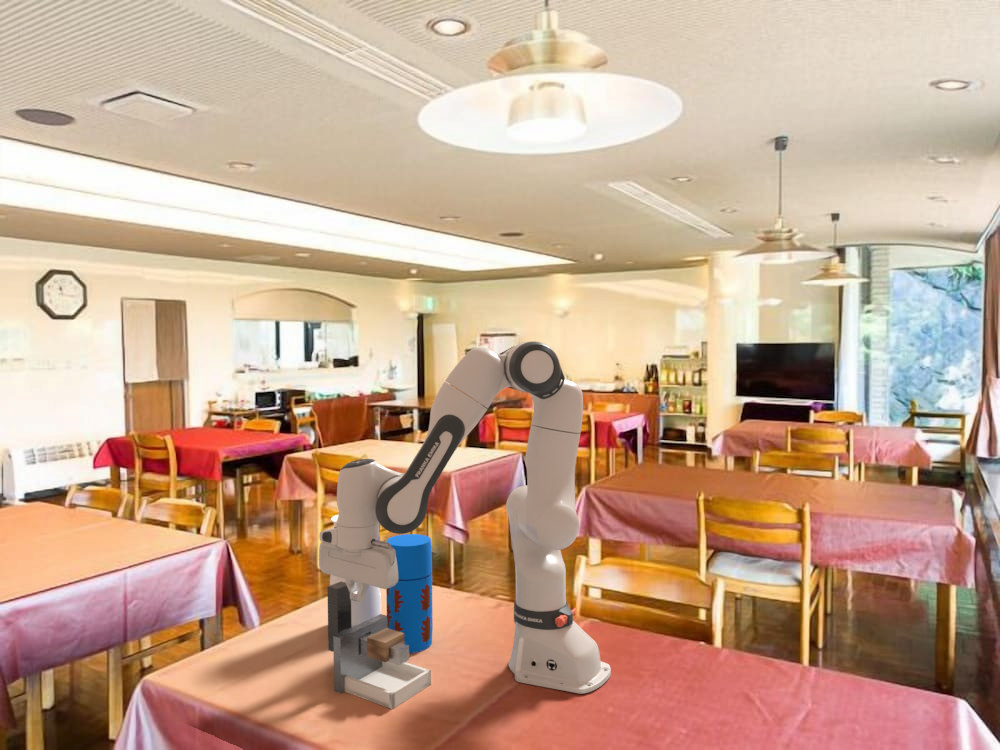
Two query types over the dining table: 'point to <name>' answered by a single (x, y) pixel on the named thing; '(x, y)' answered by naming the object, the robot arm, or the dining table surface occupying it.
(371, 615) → the vase
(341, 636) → the bearing wall
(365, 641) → the shaft
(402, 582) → the thermos
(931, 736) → the dining table surface
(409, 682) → the tray
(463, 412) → the robot arm
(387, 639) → the block
